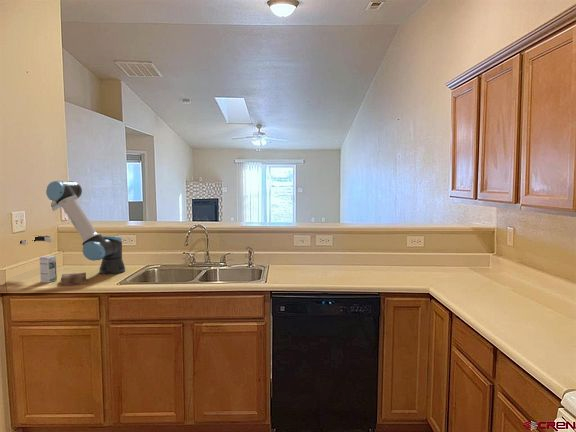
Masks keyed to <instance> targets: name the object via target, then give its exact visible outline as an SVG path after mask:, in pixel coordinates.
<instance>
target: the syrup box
mask: <svg viewBox="0 0 576 432" xmlns="http://www.w3.org/2000/svg"><path fill="white" fill-rule="evenodd" d="M39 274H40V276H39V277H40V283H51V282H52V283H53V282H55V281H58V279H57V278H58V277H57V276H58V275H57V256H56V255H45V256H39Z"/></svg>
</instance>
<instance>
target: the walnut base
mask: <svg viewBox="0 0 576 432" xmlns="http://www.w3.org/2000/svg"><path fill="white" fill-rule="evenodd" d="M77 285H78V286H79V285H87V272H77V273H75V272H74V273H63V274H61V278H60V286H61V287H65V286H66V287H67V286H77Z"/></svg>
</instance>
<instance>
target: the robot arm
mask: <svg viewBox="0 0 576 432" xmlns="http://www.w3.org/2000/svg"><path fill="white" fill-rule="evenodd" d="M46 186H47V187H46V190H45V194H46V197H47V199H48V200H52V203H51V207H52V210H53V212H55V211H57V210H58V209H60V208H62V209H63V211H64V212H65V214H66V215H67V217H68V218H69V220H70V222H71V224H72V225H73V227H74V229H76V231H77V233H78V235H79V237H80V238H81V239H82V242H81V245H82V253H83V256H84V257H85V258H86V259H87V260H90V261H101V263H100V265H99V269H98V271H99V274H101V275H115V274H122V273H124V272H126V265H125V263H124V260H123V239H122V236H120V235H119V236H118V235H117V236H115V235H114V236H113V235H102V234H101V233H98V232H97V231H96V229H95V227H94V226H93V225H92V223H91V222H90V219H89V218H88V217H87V215H86V213H85V212H84V210H83V209H82V207H81V205H80V203H79V202H78V201H77V200H78V199H79V198H80V197H81V196H82V193H83V189H82V187H81V185H80V184H79V183H78V182H76V181H72V180H54V181H51V182H50V183H48V185H46ZM37 236H38V237H35V240H34V242H35V243H36V242H46V243H52V237H51V236H48V235H43V236H42V235H37ZM34 242H33V243H34ZM19 245H22V246H27V244H26V240H21V241H20V244H19Z"/></svg>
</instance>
